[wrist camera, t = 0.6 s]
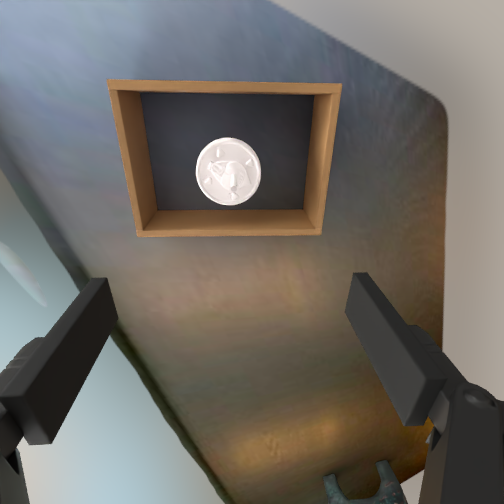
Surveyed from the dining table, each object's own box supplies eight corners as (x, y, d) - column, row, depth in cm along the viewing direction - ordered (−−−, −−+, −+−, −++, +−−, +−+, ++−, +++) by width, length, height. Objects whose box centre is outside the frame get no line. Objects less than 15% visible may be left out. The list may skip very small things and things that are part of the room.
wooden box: (131, 83, 31) (106, 79, 25) (322, 87, 32) (342, 83, 26) (152, 215, 39) (137, 237, 32) (307, 214, 40) (321, 235, 34)
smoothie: (242, 190, 38) (246, 232, 25) (197, 169, 36) (177, 204, 24) (264, 144, 35) (279, 166, 23) (216, 119, 33) (205, 130, 21)
